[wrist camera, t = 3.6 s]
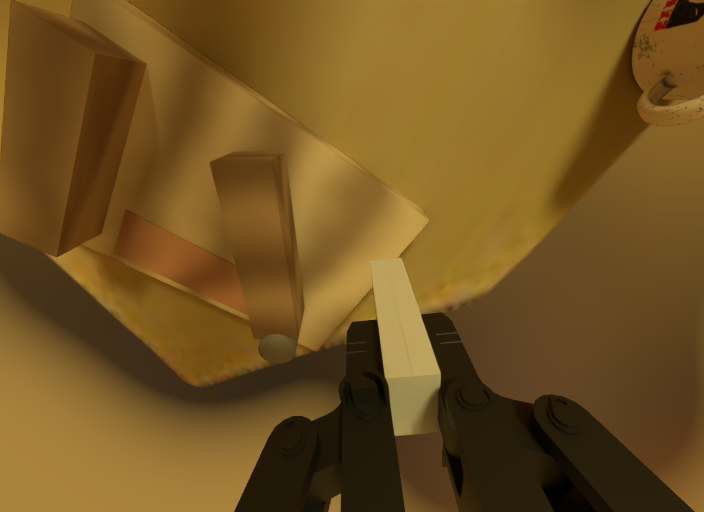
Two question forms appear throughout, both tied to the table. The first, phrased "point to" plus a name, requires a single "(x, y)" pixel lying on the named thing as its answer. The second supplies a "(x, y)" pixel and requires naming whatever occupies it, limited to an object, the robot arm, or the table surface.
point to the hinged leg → (263, 246)
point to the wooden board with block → (172, 163)
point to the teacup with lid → (670, 61)
